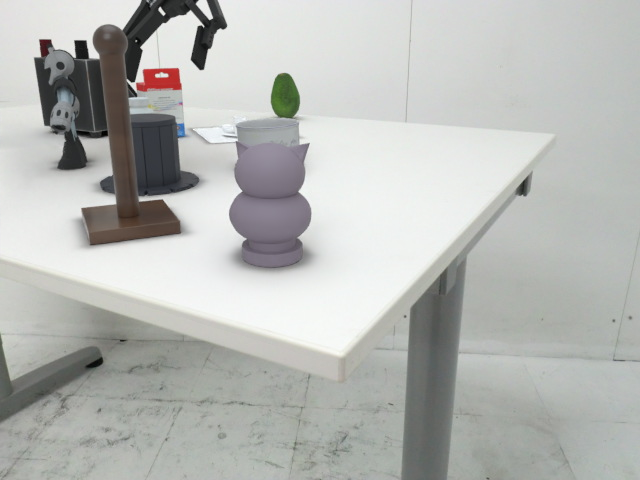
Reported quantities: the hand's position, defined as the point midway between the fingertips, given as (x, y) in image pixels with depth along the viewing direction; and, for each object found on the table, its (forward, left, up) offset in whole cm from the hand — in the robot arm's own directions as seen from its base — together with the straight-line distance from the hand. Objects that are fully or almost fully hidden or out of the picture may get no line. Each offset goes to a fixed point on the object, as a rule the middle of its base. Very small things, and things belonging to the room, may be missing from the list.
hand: (161, 71), depth 91 cm
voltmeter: (-46, -7, -16) cm, 49 cm away
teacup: (+4, +17, -16) cm, 24 cm away
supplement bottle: (-22, -1, -16) cm, 27 cm away
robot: (-10, -15, -16) cm, 24 cm away
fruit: (-48, +41, -16) cm, 65 cm away
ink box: (-32, +5, -16) cm, 36 cm away
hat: (+8, -5, -16) cm, 19 cm away
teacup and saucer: (-30, +23, -16) cm, 41 cm away
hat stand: (+28, -11, -16) cm, 34 cm away
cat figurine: (+44, +1, -16) cm, 47 cm away
